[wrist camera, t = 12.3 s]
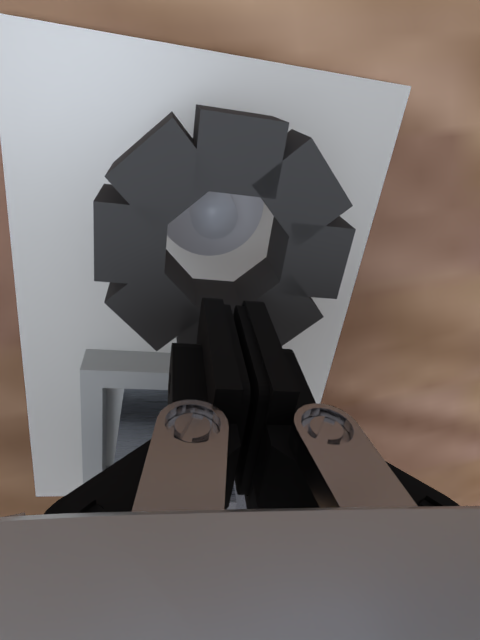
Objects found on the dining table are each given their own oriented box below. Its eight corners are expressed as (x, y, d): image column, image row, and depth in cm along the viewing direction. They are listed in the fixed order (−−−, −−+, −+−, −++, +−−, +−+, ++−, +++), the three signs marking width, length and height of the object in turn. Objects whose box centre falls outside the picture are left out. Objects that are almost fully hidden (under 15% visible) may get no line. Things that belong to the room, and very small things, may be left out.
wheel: (302, 333, 16) (318, 365, 14) (103, 322, 14) (94, 356, 13) (351, 127, 13) (381, 136, 11) (104, 90, 11) (92, 92, 10)
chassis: (290, 478, 30) (314, 558, 25) (40, 480, 27) (12, 572, 22) (398, 86, 19) (479, 89, 14) (-1, 15, 16) (-77, -12, 11)
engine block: (225, 454, 27) (241, 561, 21) (123, 454, 26) (109, 567, 20) (236, 388, 24) (258, 487, 19) (124, 384, 23) (109, 489, 17)
